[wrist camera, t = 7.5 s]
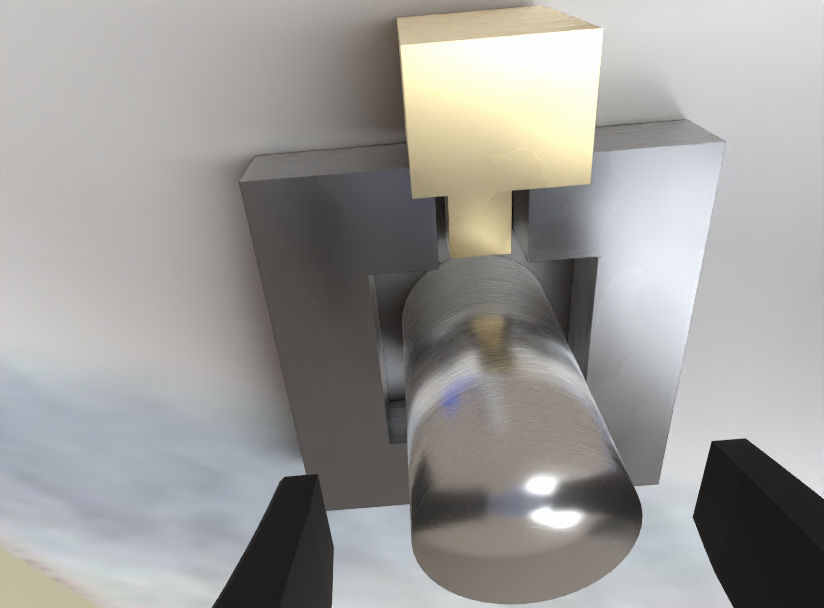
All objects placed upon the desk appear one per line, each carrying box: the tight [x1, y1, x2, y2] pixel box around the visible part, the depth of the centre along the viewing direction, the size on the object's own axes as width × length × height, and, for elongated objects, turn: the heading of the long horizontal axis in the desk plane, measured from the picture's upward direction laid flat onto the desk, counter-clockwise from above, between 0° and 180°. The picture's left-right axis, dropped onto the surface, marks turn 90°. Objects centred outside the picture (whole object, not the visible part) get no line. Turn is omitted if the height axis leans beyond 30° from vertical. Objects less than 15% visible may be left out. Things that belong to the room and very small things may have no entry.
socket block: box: [239, 120, 726, 511], centre depth 16 cm, size 10×10×2 cm
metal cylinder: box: [402, 255, 642, 604], centre depth 13 cm, size 4×4×7 cm
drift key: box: [397, 5, 603, 258], centre depth 12 cm, size 3×5×4 cm, turn 4°
